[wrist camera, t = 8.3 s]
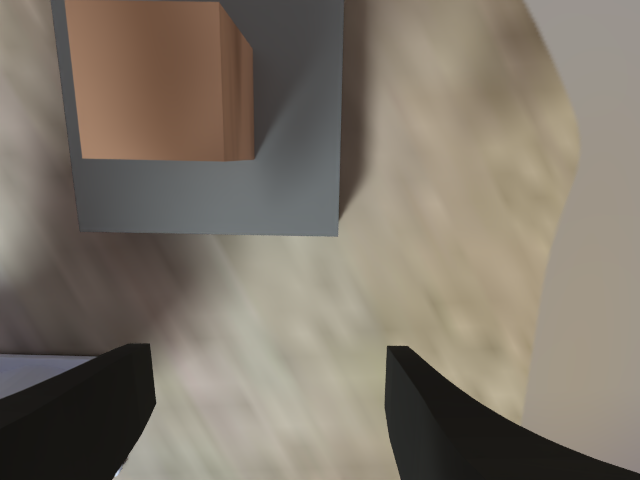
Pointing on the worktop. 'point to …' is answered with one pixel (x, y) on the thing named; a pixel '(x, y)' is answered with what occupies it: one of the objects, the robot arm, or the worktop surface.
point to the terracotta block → (161, 81)
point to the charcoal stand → (269, 139)
